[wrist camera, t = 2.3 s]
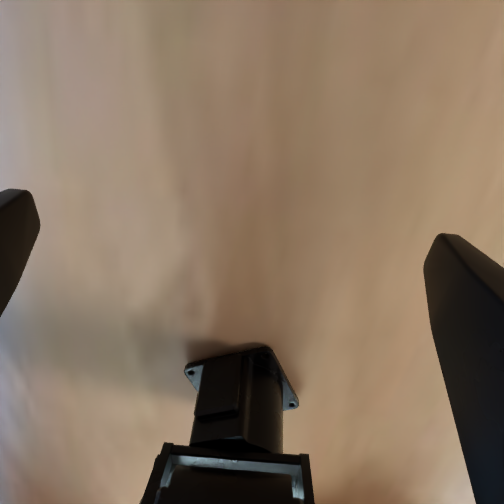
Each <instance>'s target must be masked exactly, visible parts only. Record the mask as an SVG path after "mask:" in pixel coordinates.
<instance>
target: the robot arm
mask: <svg viewBox="0 0 504 504" xmlns="http://www.w3.org/2000/svg"><path fill="white" fill-rule="evenodd" d="M39 231H40V219H39V216H38V212H37V209H36V206H35V202H34V199H33V196H32V194H31V193H30V192H29V191H27V190H21V189H6V190H4V191H1V192H0V317H1V315H2V313H3V311H4V310H5V308H6V306H7V304H8V302H9V300H10V299H11V297H12V295H13V293H14V291H15V289H16V287H17V285H18V283H19V281H20V278H21V276H22V274H23V271H24V269H25V266H26V264H27V261H28V259H29V256H30V254H31V251H32V249H33V246H34V244H35V241H36V239H37V236H38V234H39ZM423 271H424V279H425V287H426V295H427V303H428V310H429V318H430V325H431V330H432V335H433V339H434V343H435V347H436V350H437V354H438V358H439V362H440V366H441V370H442V374H443V378H444V381H445V385H446V389H447V393H448V397H449V401H450V405H451V408H452V412H453V416H454V420H455V424H456V428H457V432H458V436H459V439H460V443H461V447H462V451H463V455H464V459H465V463H466V466H467V470H468V474H469V478H470V482H471V486H472V490H473V493H474V497H475V501H476V504H504V268H503V267H502V266H500V265H499V264H497V263H496V262H495V261H493V260H492V259H491V258H489V257H488V256H487V255H485V254H484V253H482V252H481V251H480V250H478V249H477V248H476V247H474V246H473V245H472V244H470V243H469V242H468V241H466V240H465V239H463V238H462V237H461V236H459V235H456V234H446V233H441V234H439V235H437V236H436V238H435V240H434V242H433V244H432V246H431V248H430V251H429V253H428V255H427V257H426V259H425V262H424V268H423ZM184 373H185V375H186V376H187V378H188V379H189V380H190V382H191V383H192V384H193V386H194V387H195V389H196V390H197V391H198V395H197V400H196V405H195V410H194V415H195V417H194V422H193V427H192V433H191V438H190V443H189V446H184V445H174V444H173V443H167V442H164V444H163V447H162V450H161V453H160V455H158V456H157V458H155V462H154V466H153V470H152V473H151V475H150V478H149V481H148V484H147V487H146V490H145V493H144V495H143V497H142V499H141V501H140V503H139V504H315V502H314V494H313V486H312V477H311V469H310V461H309V454H299V455H292V454H283V411H285V410H290V409H295V408H297V407H298V406H299V400H298V397H297V395H296V394H295V392H294V390H293V388H292V386H291V384H290V382H289V380H288V378H287V376H286V375H285V373H284V371H283V369H282V367H281V365H280V363H279V361H278V359H277V357H276V356H275V354H274V352H273V350H272V349H271V348H269V347H260V348H255V349H251V350H246V351H242V352H237V353H233V354H228V355H224V356H220V357H215V358H211V359H206V360H202V361H197V362H193V363H189V364H187V365H186V366H185V370H184Z"/></svg>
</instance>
